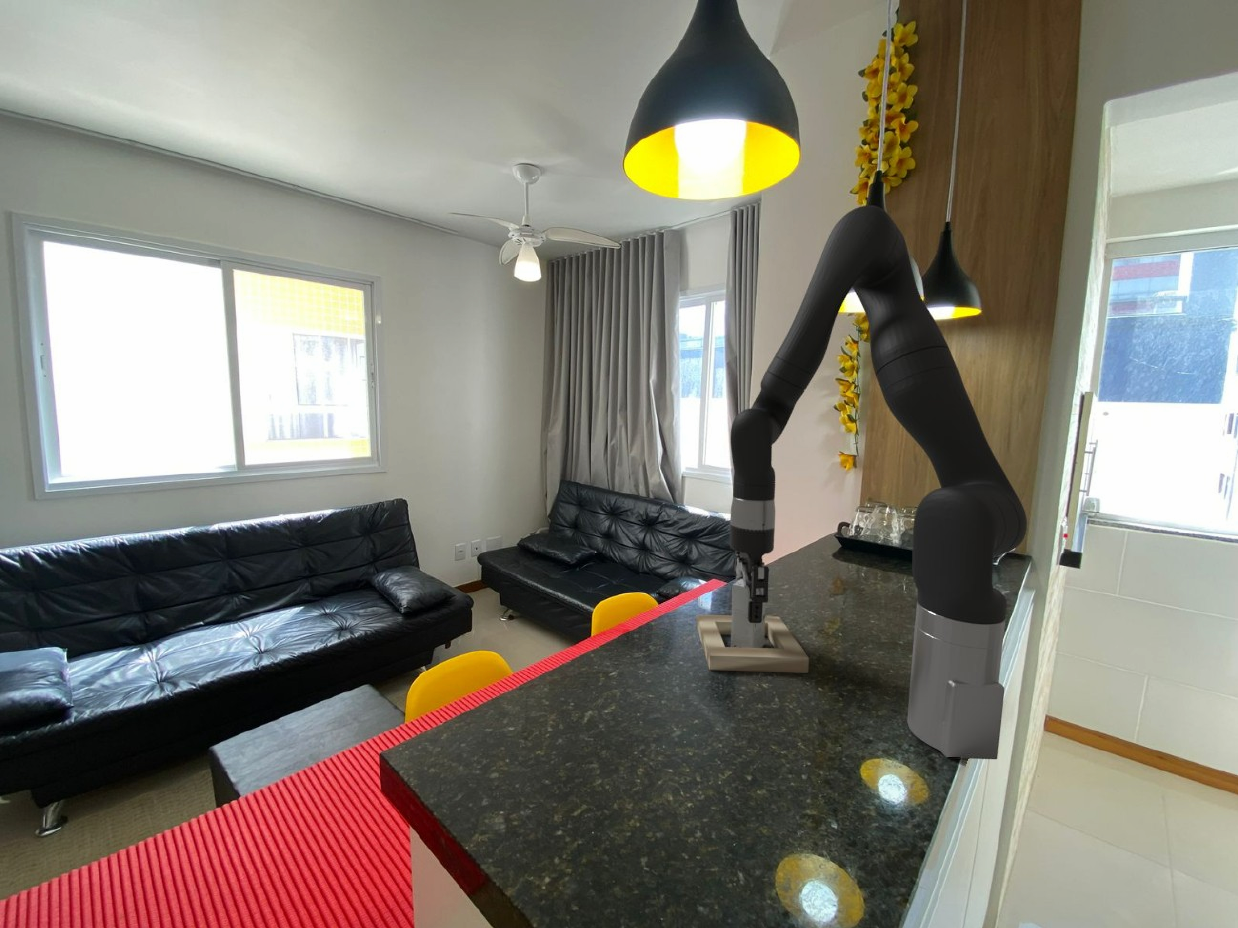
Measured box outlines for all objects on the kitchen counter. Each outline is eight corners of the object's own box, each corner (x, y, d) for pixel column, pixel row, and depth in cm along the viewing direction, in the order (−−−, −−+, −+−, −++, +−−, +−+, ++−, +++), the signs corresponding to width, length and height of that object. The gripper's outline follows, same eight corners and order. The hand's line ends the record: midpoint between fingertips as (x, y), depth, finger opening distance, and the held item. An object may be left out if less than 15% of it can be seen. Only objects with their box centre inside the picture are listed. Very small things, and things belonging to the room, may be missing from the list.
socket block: (808, 672, 77) (808, 658, 77) (709, 669, 78) (710, 655, 78) (778, 628, 93) (778, 616, 93) (696, 626, 94) (696, 614, 94)
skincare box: (753, 657, 82) (756, 590, 81) (728, 650, 85) (731, 584, 83) (765, 644, 87) (768, 580, 86) (741, 637, 90) (744, 575, 88)
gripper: (787, 533, 76) (782, 630, 78) (762, 514, 90) (759, 597, 92) (740, 532, 76) (736, 629, 78) (723, 514, 90) (720, 596, 92)
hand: (748, 611), depth 85 cm, fingers open, 8 cm apart
